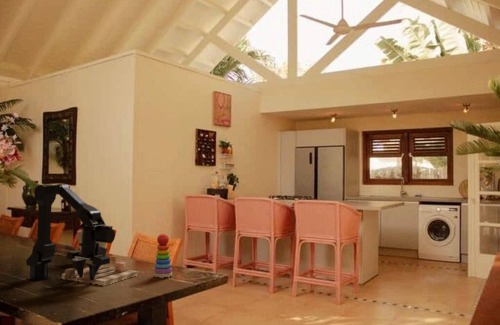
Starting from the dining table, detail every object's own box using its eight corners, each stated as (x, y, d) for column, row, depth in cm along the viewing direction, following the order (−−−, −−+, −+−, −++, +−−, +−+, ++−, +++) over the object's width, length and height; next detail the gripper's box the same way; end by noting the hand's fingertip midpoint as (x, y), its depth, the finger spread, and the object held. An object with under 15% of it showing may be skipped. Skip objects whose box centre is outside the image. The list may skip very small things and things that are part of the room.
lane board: (101, 286, 167) (101, 280, 167) (58, 279, 178) (58, 273, 178) (137, 275, 187) (137, 270, 187) (97, 269, 197) (97, 264, 197)
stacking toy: (164, 273, 192) (165, 232, 193) (175, 276, 187) (177, 233, 188) (150, 276, 186) (151, 233, 187) (161, 279, 181) (162, 235, 182)
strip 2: (88, 283, 168) (88, 273, 168) (83, 282, 169) (83, 272, 169) (127, 272, 188) (127, 263, 188) (122, 271, 189) (122, 263, 189)
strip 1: (69, 279, 173) (69, 270, 173) (64, 278, 174) (64, 269, 174) (108, 269, 193) (109, 261, 193) (104, 268, 194) (104, 260, 194)
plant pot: (113, 261, 218) (114, 229, 219) (96, 266, 203) (97, 232, 204) (87, 259, 221) (89, 228, 222) (69, 264, 207) (70, 231, 208)
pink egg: (120, 272, 183) (120, 264, 183) (112, 271, 185) (112, 262, 185) (127, 270, 187) (127, 262, 187) (119, 269, 189) (119, 261, 189)
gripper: (120, 240, 174) (118, 278, 174) (87, 235, 182) (85, 271, 182) (100, 244, 164) (97, 284, 164) (66, 238, 172) (64, 276, 172)
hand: (86, 278), depth 171 cm, fingers open, 6 cm apart
